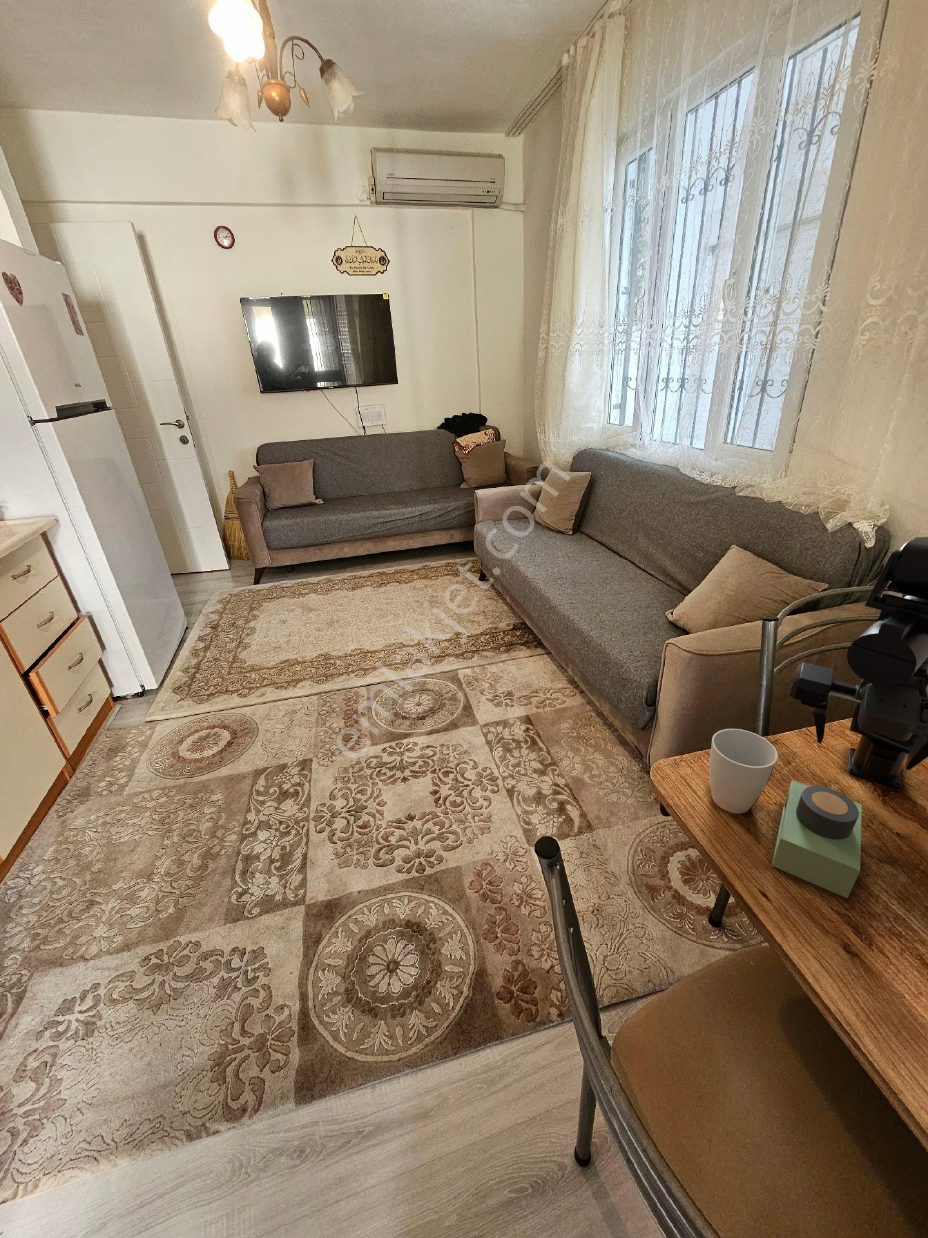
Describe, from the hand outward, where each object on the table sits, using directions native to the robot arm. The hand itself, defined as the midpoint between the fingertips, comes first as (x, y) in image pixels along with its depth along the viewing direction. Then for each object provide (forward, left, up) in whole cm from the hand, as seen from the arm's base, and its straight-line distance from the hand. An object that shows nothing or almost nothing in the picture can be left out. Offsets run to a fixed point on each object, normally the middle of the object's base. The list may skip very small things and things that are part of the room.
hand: (861, 754), depth 65 cm
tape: (+7, -2, -7) cm, 10 cm away
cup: (+4, -13, -12) cm, 18 cm away
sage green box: (+7, -2, -12) cm, 14 cm away
